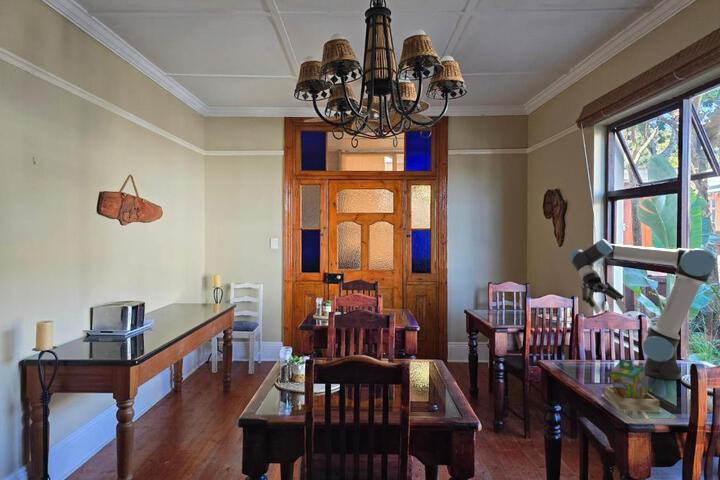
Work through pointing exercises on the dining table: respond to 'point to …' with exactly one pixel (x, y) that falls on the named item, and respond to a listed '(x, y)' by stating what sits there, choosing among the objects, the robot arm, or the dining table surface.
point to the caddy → (632, 401)
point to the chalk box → (629, 380)
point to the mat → (628, 409)
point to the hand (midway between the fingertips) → (611, 311)
